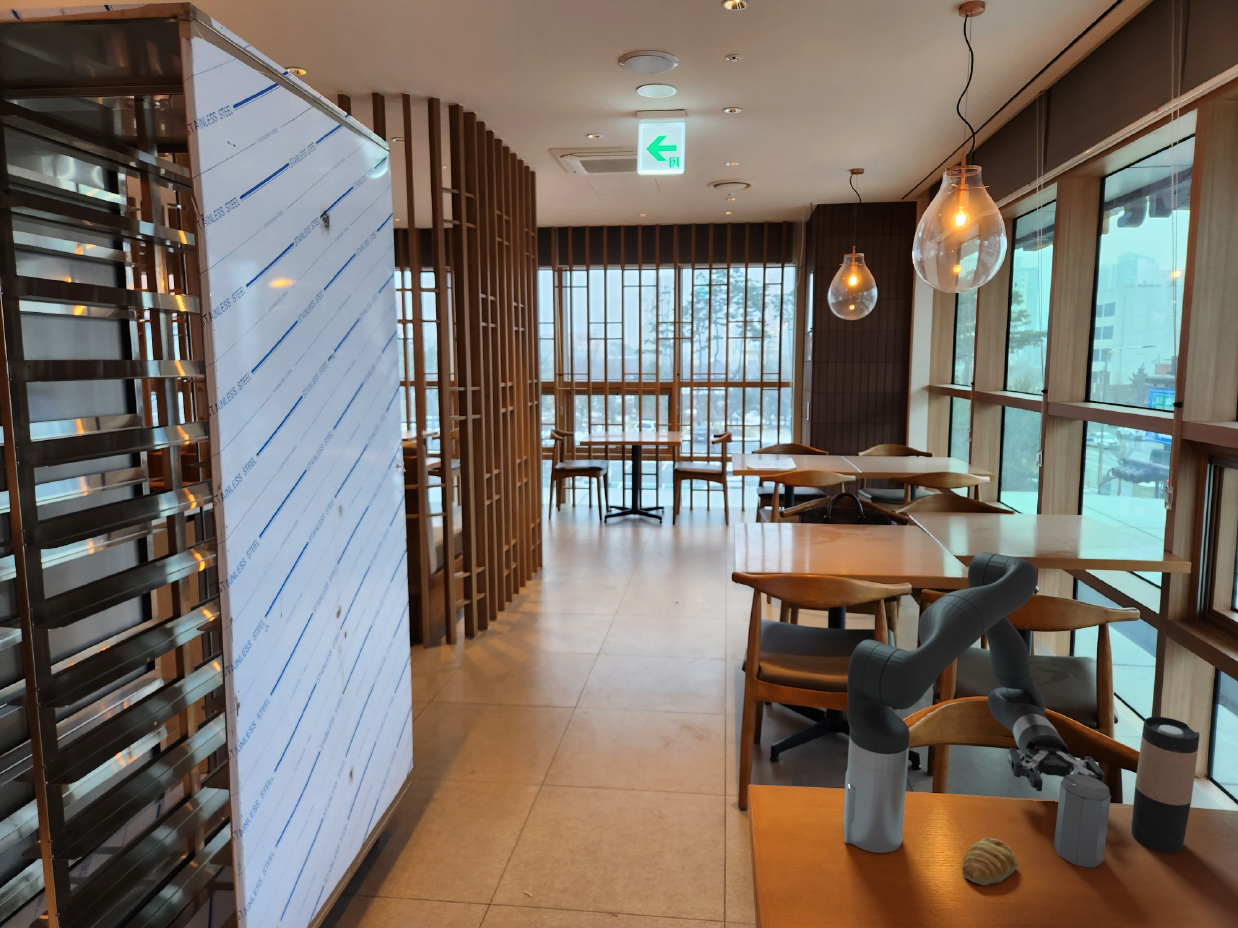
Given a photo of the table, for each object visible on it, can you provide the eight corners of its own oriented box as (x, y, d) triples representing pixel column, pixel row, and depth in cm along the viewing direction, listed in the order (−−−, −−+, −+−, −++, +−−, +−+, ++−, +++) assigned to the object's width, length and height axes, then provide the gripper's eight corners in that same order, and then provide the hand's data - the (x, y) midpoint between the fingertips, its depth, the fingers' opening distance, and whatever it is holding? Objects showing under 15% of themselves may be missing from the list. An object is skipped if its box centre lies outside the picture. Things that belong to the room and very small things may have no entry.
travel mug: (1124, 839, 132) (1138, 727, 129) (1134, 819, 137) (1148, 711, 134) (1180, 860, 127) (1196, 744, 123) (1188, 838, 132) (1204, 726, 129)
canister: (1062, 863, 126) (1070, 793, 124) (1050, 838, 132) (1057, 771, 130) (1107, 869, 125) (1116, 799, 123) (1092, 843, 131) (1100, 776, 129)
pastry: (993, 897, 119) (995, 873, 118) (949, 874, 124) (951, 852, 123) (1020, 869, 125) (1021, 847, 124) (976, 848, 130) (978, 827, 129)
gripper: (1000, 719, 150) (1024, 763, 135) (1083, 727, 147) (1117, 774, 132) (996, 756, 152) (1019, 804, 136) (1078, 765, 149) (1112, 816, 133)
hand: (1067, 789), depth 134 cm, fingers open, 8 cm apart
